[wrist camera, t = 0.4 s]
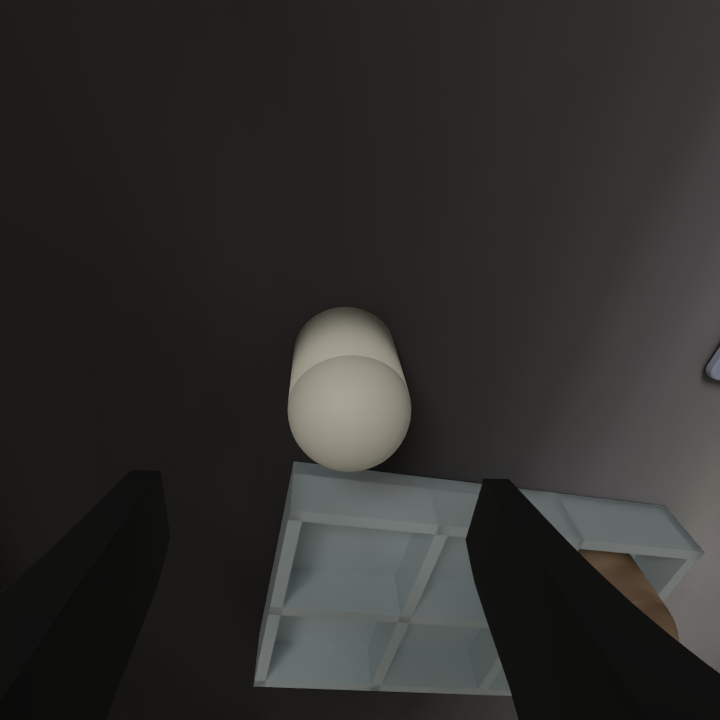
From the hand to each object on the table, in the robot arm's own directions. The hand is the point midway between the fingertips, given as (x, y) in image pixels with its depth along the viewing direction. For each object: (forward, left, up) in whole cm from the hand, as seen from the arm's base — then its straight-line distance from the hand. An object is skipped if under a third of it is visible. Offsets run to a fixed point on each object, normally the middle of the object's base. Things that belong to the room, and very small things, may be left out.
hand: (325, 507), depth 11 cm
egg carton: (-10, +14, -9) cm, 20 cm away
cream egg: (-1, +1, -9) cm, 10 cm away
